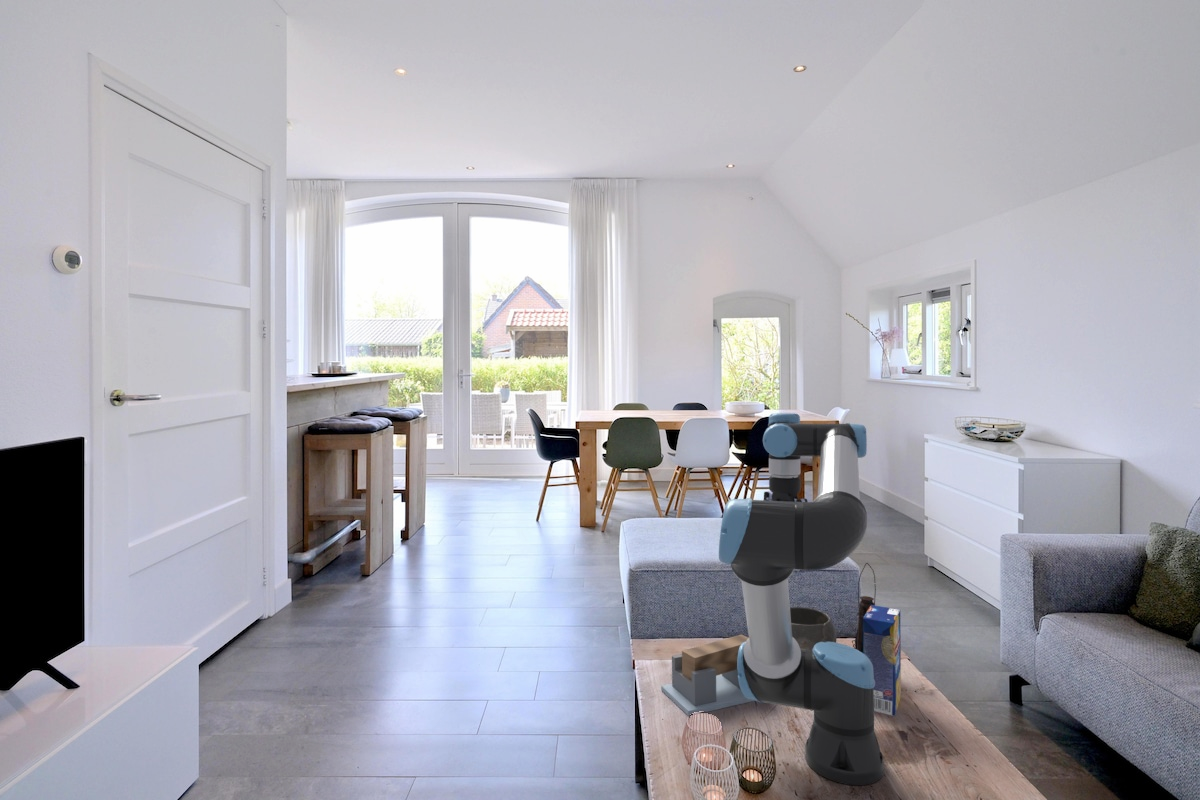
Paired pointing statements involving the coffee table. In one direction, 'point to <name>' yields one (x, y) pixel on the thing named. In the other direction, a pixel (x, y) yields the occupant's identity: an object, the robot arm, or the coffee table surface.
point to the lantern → (862, 615)
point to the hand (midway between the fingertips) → (785, 561)
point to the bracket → (703, 689)
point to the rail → (713, 656)
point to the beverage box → (884, 655)
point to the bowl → (811, 627)
